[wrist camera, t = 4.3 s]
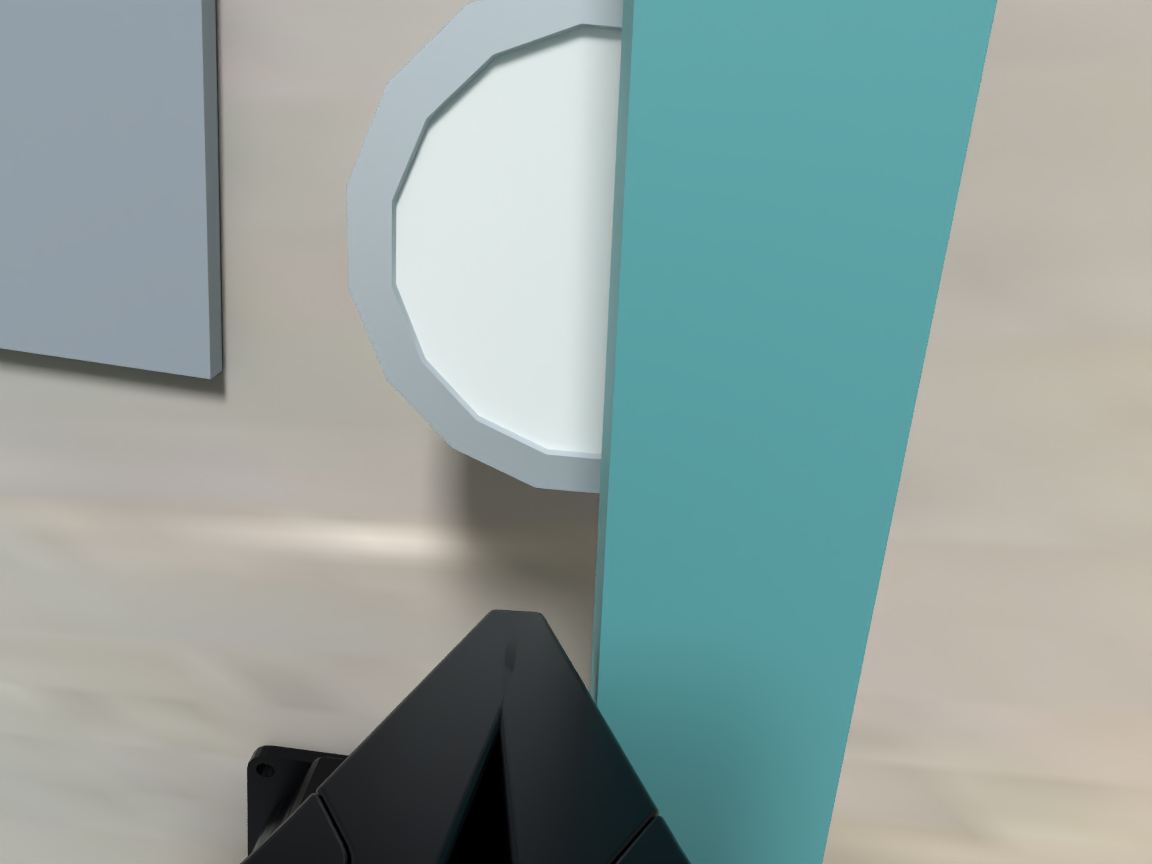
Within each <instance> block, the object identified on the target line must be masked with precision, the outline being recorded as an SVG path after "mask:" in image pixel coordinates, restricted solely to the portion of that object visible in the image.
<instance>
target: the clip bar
mask: <svg viewBox="0 0 1152 864" xmlns="http://www.w3.org/2000/svg"><path fill="white" fill-rule="evenodd" d="M996 3H997V0H624V1H623V22H622V42H621V63H620V84H619V104H618V125H617V145H616V166H615V187H614V207H613V228H612V249H611V269H610V290H609V311H608V331H607V352H606V373H605V393H604V414H603V434H602V455H601V476H600V496H599V517H598V538H597V558H596V579H595V600H594V620H593V641H592V661H591V682H590V695H591V697H592V699H593V700H594V702H595V704H596V705H597V707H598V709H599V710H600V712H601V714H602V716H603V717H604V719H605V721H606V722H607V724H608V726H609V727H610V729H611V731H612V732H613V734H614V736H615V738H616V739H617V741H618V743H619V744H620V746H621V748H622V749H623V751H624V753H625V754H626V756H627V758H628V760H629V761H630V763H631V765H632V766H633V768H634V770H635V771H636V773H637V775H638V776H639V778H640V780H641V782H642V783H643V785H644V787H645V788H646V790H647V792H648V793H649V795H650V797H651V798H652V800H653V802H654V804H655V805H656V807H657V809H658V810H659V816H662V817H663V818H664V820H665V821H666V823H667V825H668V827H669V828H670V830H671V832H672V833H673V835H674V837H675V839H676V840H677V842H678V844H679V845H680V847H681V849H682V850H683V852H684V853H685V855H686V856H687V858H688V860H689V861H690V863H691V864H822V861H823V856H824V851H825V846H826V841H827V836H828V831H829V826H830V821H831V816H832V811H833V807H834V802H835V797H836V792H837V787H838V782H839V777H840V772H841V767H842V762H843V757H844V752H845V747H846V742H847V738H848V733H849V728H850V723H851V718H852V713H853V708H854V703H855V698H856V693H857V688H858V683H859V678H860V673H861V669H862V664H863V659H864V654H865V649H866V644H867V639H868V634H869V629H870V624H871V619H872V614H873V609H874V604H875V600H876V595H877V590H878V585H879V580H880V575H881V570H882V565H883V560H884V555H885V550H886V545H887V540H888V535H889V531H890V526H891V521H892V516H893V511H894V506H895V501H896V496H897V491H898V486H899V481H900V476H901V471H902V466H903V462H904V457H905V452H906V447H907V442H908V437H909V432H910V427H911V422H912V417H913V412H914V407H915V402H916V397H917V393H918V388H919V383H920V378H921V373H922V368H923V363H924V358H925V353H926V348H927V343H928V338H929V333H930V328H931V324H932V319H933V314H934V309H935V304H936V299H937V294H938V289H939V284H940V279H941V274H942V269H943V264H944V259H945V255H946V250H947V245H948V240H949V235H950V230H951V225H952V220H953V215H954V210H955V205H956V200H957V195H958V190H959V186H960V181H961V176H962V171H963V166H964V161H965V156H966V151H967V146H968V141H969V136H970V131H971V126H972V121H973V117H974V112H975V107H976V102H977V97H978V92H979V87H980V82H981V77H982V72H983V67H984V62H985V57H986V52H987V48H988V43H989V38H990V33H991V28H992V23H993V18H994V13H995V8H996Z"/></svg>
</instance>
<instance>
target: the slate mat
mask: <svg viewBox="0 0 1152 864" xmlns="http://www.w3.org/2000/svg"><path fill="white" fill-rule="evenodd" d="M0 348H2V349H9V350H15V351H22V352H29V353H36V354H43V355H49V356H56V357H63V358H70V359H76V360H83V361H90V362H97V363H104V364H110V365H117V366H124V367H131V368H137V369H144V370H151V371H158V372H165V373H171V374H178V375H185V376H192V377H199V378H205V379H212V378H213V377H214V376H216V375H217V374H219V373H220V372H221V371H222V336H221V281H220V227H219V173H218V118H217V64H216V10H215V0H0Z"/></svg>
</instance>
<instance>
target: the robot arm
mask: <svg viewBox="0 0 1152 864" xmlns="http://www.w3.org/2000/svg"><path fill="white" fill-rule="evenodd" d="M265 763H267V764H270V765H271V766H268V765H266V764H265ZM247 801H248V857H247V858H246V859H245V860H244V861H243V862H241V863H240V864H691V863H690V861H689V860H688V858H687V856H686V855H685V853H684V852H683V850H682V849H681V847H680V845H679V844H678V842H677V840H676V839H675V837H674V835H673V833H672V832H671V830H670V828H669V827H668V825H667V823H666V821H665V820H664V818H663V817H662V816H659V810H658V809H657V807H656V805H655V804H654V802H653V800H652V798H651V797H650V795H649V793H648V792H647V790H646V788H645V787H644V785H643V783H642V782H641V780H640V778H639V776H638V775H637V773H636V771H635V770H634V768H633V766H632V765H631V763H630V761H629V760H628V758H627V756H626V754H625V753H624V751H623V749H622V748H621V746H620V744H619V743H618V741H617V739H616V738H615V736H614V734H613V732H612V731H611V729H610V727H609V726H608V724H607V722H606V721H605V719H604V717H603V716H602V714H601V712H600V710H599V709H598V707H597V705H596V704H595V702H594V700H593V699H592V697H591V695H590V694H589V692H588V690H587V688H586V687H585V685H584V683H583V682H582V680H581V678H580V677H579V675H578V673H577V672H576V670H575V668H574V666H573V665H572V663H571V661H570V660H569V658H568V656H567V655H566V653H565V651H564V650H563V648H562V646H561V644H560V643H559V641H558V639H557V638H556V636H555V634H554V633H553V631H552V629H551V628H550V626H549V624H548V622H547V621H546V619H545V617H544V616H543V615H542V614H541V613H538V612H525V611H511V610H497V609H496V610H492V611H490V612H489V613H488V614H487V615H486V616H485V617H484V618H483V619H482V620H481V621H480V622H479V623H478V624H477V625H476V626H475V627H474V628H473V629H472V630H471V631H470V632H469V633H468V634H467V636H466V637H465V638H464V639H463V640H462V641H461V642H460V643H459V644H458V645H457V646H456V647H455V648H454V649H453V650H452V651H451V652H450V653H449V654H448V655H447V656H446V657H445V658H444V659H443V660H442V661H441V662H440V663H439V664H438V665H437V666H436V667H435V668H434V669H433V670H432V671H431V672H430V673H429V674H428V675H427V676H426V677H425V679H424V680H423V681H422V682H421V683H420V684H419V685H418V686H417V687H416V688H415V689H414V690H413V691H412V692H411V693H410V694H409V695H408V696H407V697H406V698H405V699H404V700H403V701H402V702H401V703H400V704H399V705H398V706H397V707H396V708H395V709H394V710H393V711H392V712H391V713H390V714H389V715H388V716H387V717H386V718H385V719H384V720H383V721H382V723H381V724H380V725H379V726H378V727H377V728H376V729H375V730H374V731H373V732H372V733H371V734H370V735H369V736H368V737H367V738H366V739H365V740H364V741H363V742H362V743H361V744H360V745H359V746H358V747H357V748H356V749H355V750H354V751H353V752H352V753H351V754H350V755H349V756H345V755H338V754H330V753H323V752H315V751H308V750H300V749H293V748H285V747H278V746H262V747H259V748H258V749H257V750H256V751H255V752H254V753H253V755H252V757H251V759H250V761H249V763H248V767H247Z"/></svg>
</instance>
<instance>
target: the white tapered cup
mask: <svg viewBox="0 0 1152 864" xmlns="http://www.w3.org/2000/svg"><path fill="white" fill-rule="evenodd" d="M623 1H624V0H478V1H475V2H472V3H469V4H467V5H466V6H465V7H464V8H463V9H462V10H461V11H460V12H459V13H458V14H457V15H456V16H455V17H454V18H453V19H452V20H451V21H450V22H449V23H448V24H447V25H446V26H445V27H444V28H443V29H442V30H441V31H440V32H439V33H438V34H437V35H436V36H435V37H434V38H433V39H432V40H431V41H430V42H429V43H428V44H427V45H426V46H425V47H424V48H423V49H422V50H421V51H420V52H419V53H418V54H417V55H416V56H415V57H414V58H413V59H412V60H410V61H409V62H408V63H407V64H406V65H405V66H404V67H403V68H402V69H401V70H400V71H399V72H398V73H397V74H396V75H395V76H394V77H393V78H392V79H391V80H390V81H389V82H388V83H387V85H386V87H385V90H384V92H383V95H382V97H381V100H380V103H379V105H378V108H377V110H376V113H375V115H374V118H373V120H372V123H371V125H370V128H369V130H368V133H367V135H366V138H365V140H364V143H363V145H362V148H361V150H360V153H359V155H358V158H357V161H356V163H355V166H354V168H353V171H352V173H351V176H350V178H349V181H348V183H347V229H348V285H349V291H350V294H351V296H352V298H353V301H354V303H355V305H356V308H357V310H358V313H359V315H360V317H361V320H362V322H363V324H364V327H365V329H366V332H367V334H368V336H369V339H370V341H371V344H372V346H373V348H374V351H375V353H376V355H377V358H378V360H379V363H380V365H381V367H382V370H383V372H384V375H385V377H386V379H387V381H388V382H389V383H390V384H391V385H392V386H393V387H394V388H395V389H396V390H397V391H398V392H399V393H400V394H401V395H402V396H403V397H404V398H405V399H406V400H407V401H408V403H409V404H410V405H411V406H412V407H413V408H414V409H415V410H416V411H417V412H418V413H419V414H420V415H421V416H422V417H423V418H424V419H425V420H426V421H427V422H428V423H429V424H430V425H431V426H432V427H433V429H434V430H435V431H436V432H437V433H438V434H439V435H440V436H441V437H442V438H443V439H444V440H445V441H446V442H447V443H448V444H449V445H450V446H451V447H452V448H453V449H455V450H457V451H459V452H461V453H464V454H466V455H468V456H470V457H472V458H474V459H476V460H478V461H480V462H482V463H485V464H487V465H489V466H491V467H493V468H495V469H497V470H499V471H501V472H503V473H506V474H508V475H510V476H512V477H514V478H516V479H518V480H520V481H522V482H524V483H526V484H529V485H531V486H533V487H535V488H543V489H554V490H565V491H576V492H587V493H598V494H600V476H601V455H602V434H603V414H604V393H605V373H606V352H607V331H608V311H609V290H610V269H611V249H612V228H613V207H614V187H615V166H616V145H617V125H618V104H619V84H620V63H621V42H622V22H623Z"/></svg>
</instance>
